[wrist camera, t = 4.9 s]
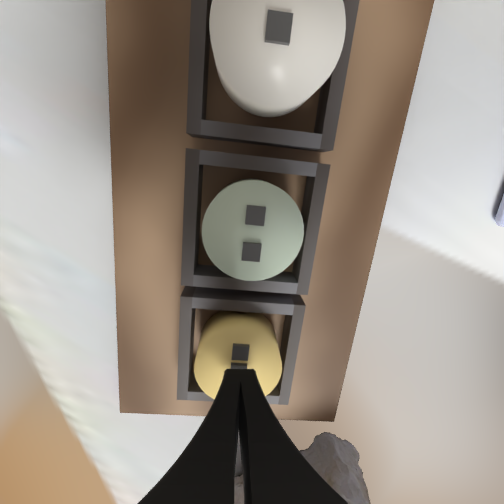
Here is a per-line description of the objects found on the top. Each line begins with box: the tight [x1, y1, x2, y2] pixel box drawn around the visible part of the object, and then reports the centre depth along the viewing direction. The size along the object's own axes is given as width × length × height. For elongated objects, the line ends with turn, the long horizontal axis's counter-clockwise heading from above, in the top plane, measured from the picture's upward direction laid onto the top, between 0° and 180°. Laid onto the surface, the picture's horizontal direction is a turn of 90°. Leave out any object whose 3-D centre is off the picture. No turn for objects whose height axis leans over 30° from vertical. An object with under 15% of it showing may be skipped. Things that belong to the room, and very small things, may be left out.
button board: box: [106, 0, 434, 422], centre depth 14 cm, size 14×26×3 cm, turn 174°
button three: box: [194, 310, 282, 399], centre depth 15 cm, size 4×4×3 cm
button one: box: [209, 0, 346, 117], centre depth 10 cm, size 4×4×3 cm
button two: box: [202, 179, 304, 281], centre depth 13 cm, size 4×4×3 cm
